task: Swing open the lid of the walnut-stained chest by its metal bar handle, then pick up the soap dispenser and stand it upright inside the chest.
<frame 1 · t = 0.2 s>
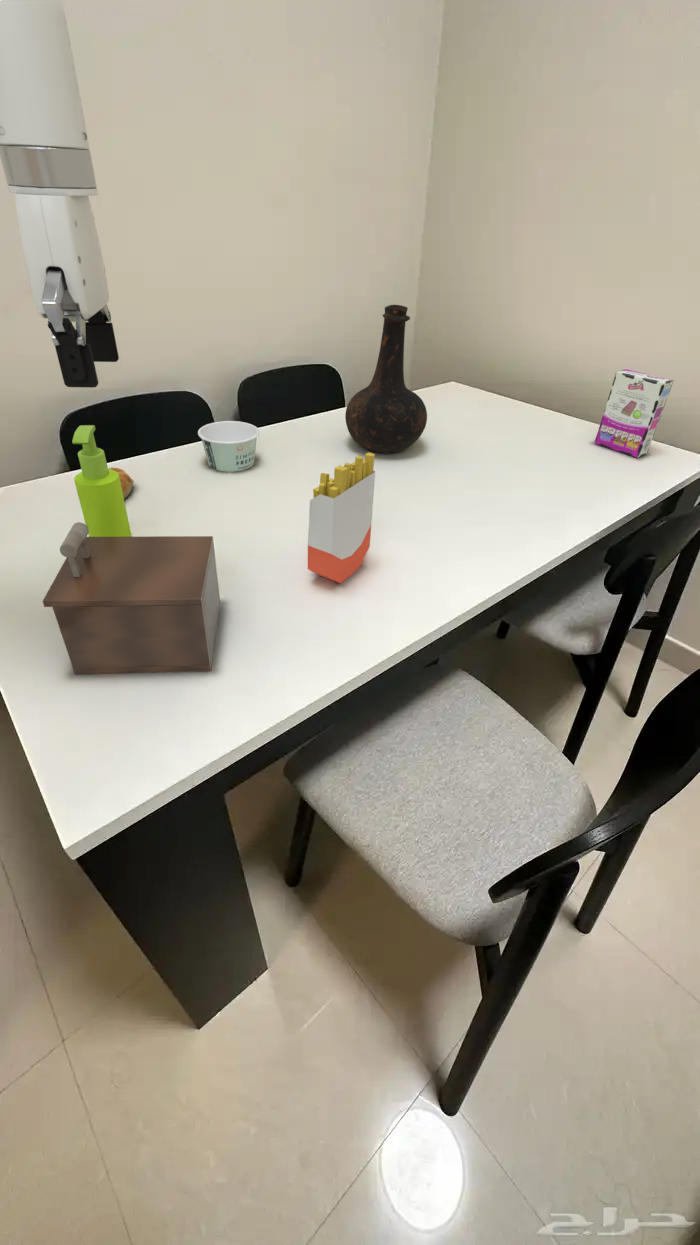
hand: (94, 373, 63), 30 cm above the table, tool pointing down, fingers open, 9 cm apart
food container: (231, 463, 119), on the table
soap dispenser: (115, 559, 89), on the table
pastry: (114, 495, 106), on the table
lid: (132, 552, 67), point 13 cm above the table, hinge at 0.0°
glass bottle: (383, 446, 130), on the table
candy bar box: (619, 449, 136), on the table
french fries container: (338, 571, 89), on the table
chest: (153, 636, 75), on the table
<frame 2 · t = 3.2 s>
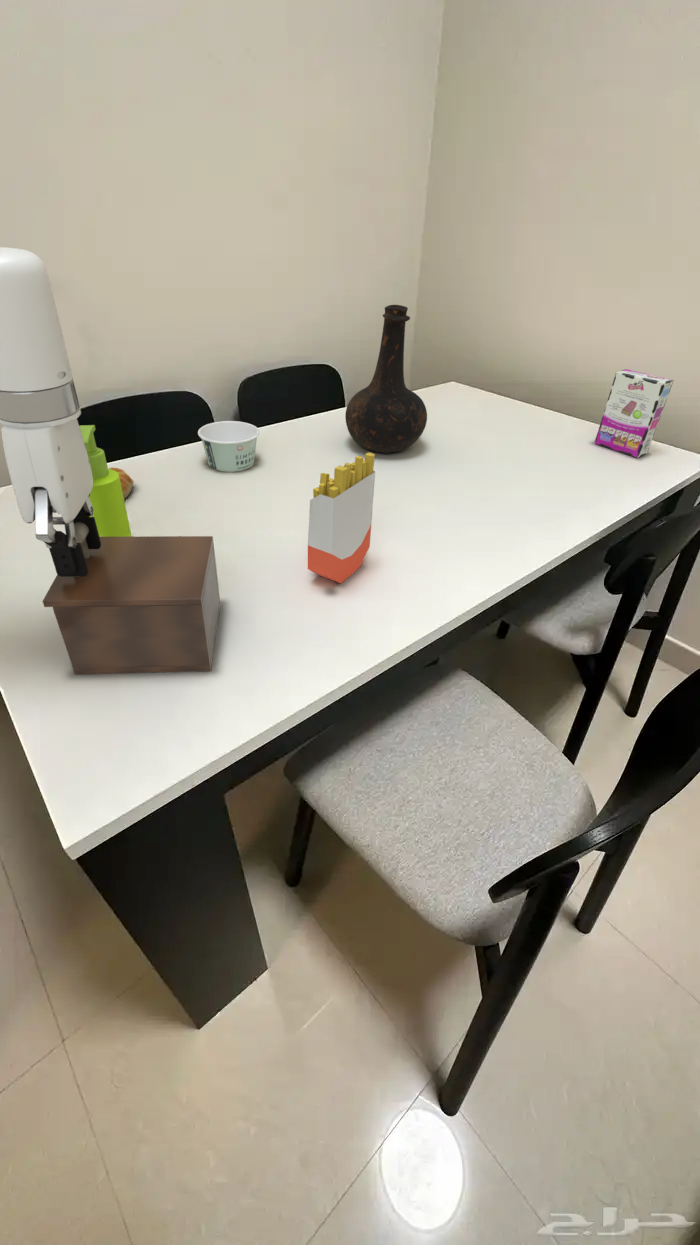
hand: (80, 559, 67), 12 cm above the table, tool pointing down, fingers closed on lid, 5 cm apart
lid: (132, 552, 67), point 13 cm above the table, hinge at 0.0°, touching gripper
everything else where it was.
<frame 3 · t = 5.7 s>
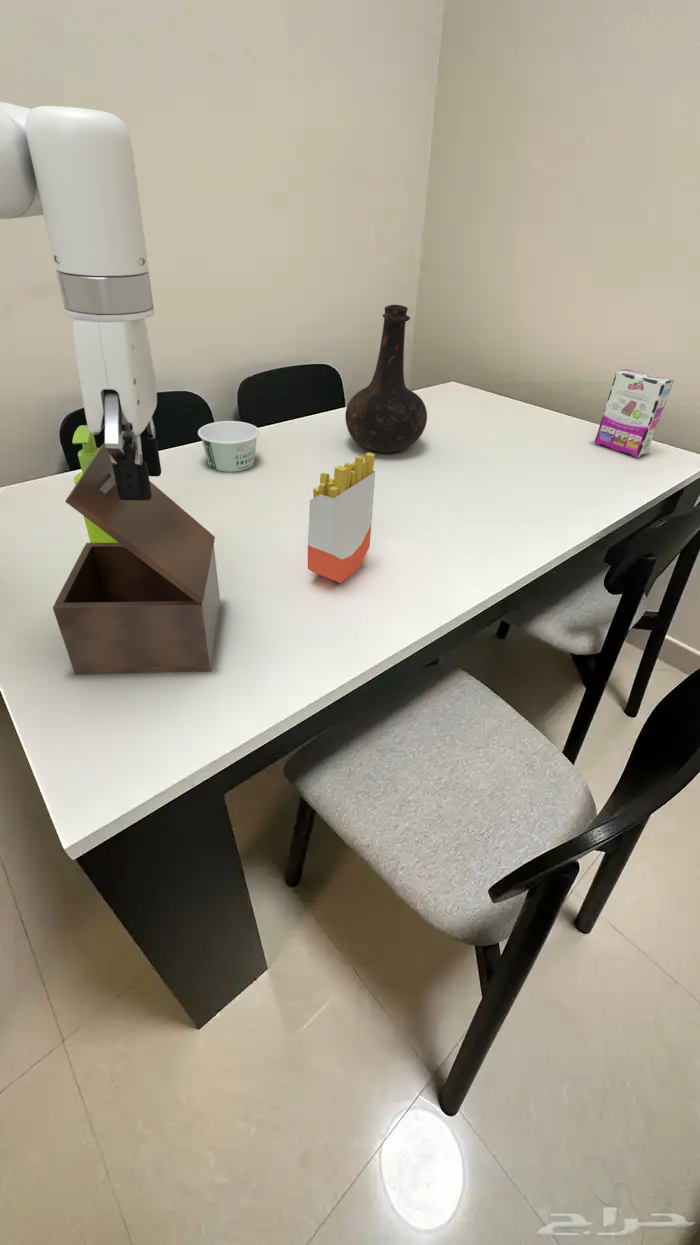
hand: (141, 485, 62), 21 cm above the table, tool pointing down, fingers closed on lid, 5 cm apart
lid: (164, 509, 64), point 18 cm above the table, hinge at 47.9°, touching gripper
everything else where it was.
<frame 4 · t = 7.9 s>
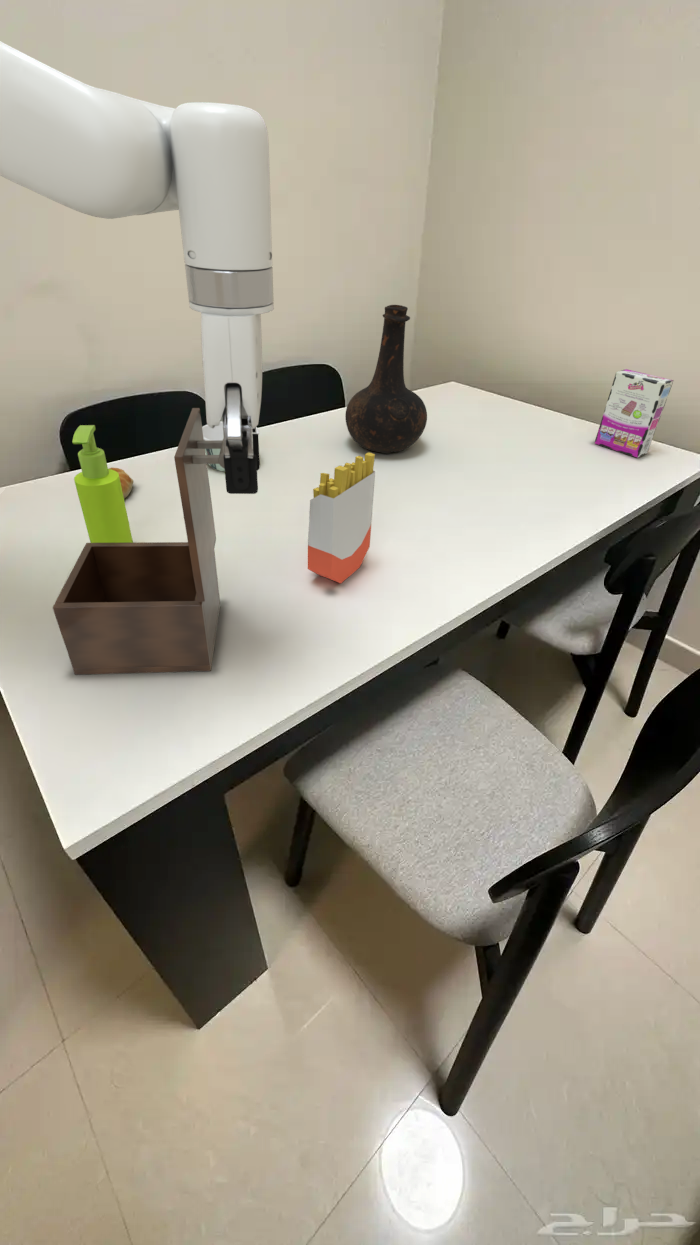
hand: (243, 478, 63), 22 cm above the table, tool pointing down, fingers closed on lid, 5 cm apart
lid: (218, 504, 64), point 19 cm above the table, hinge at 89.1°, touching gripper
everything else where it was.
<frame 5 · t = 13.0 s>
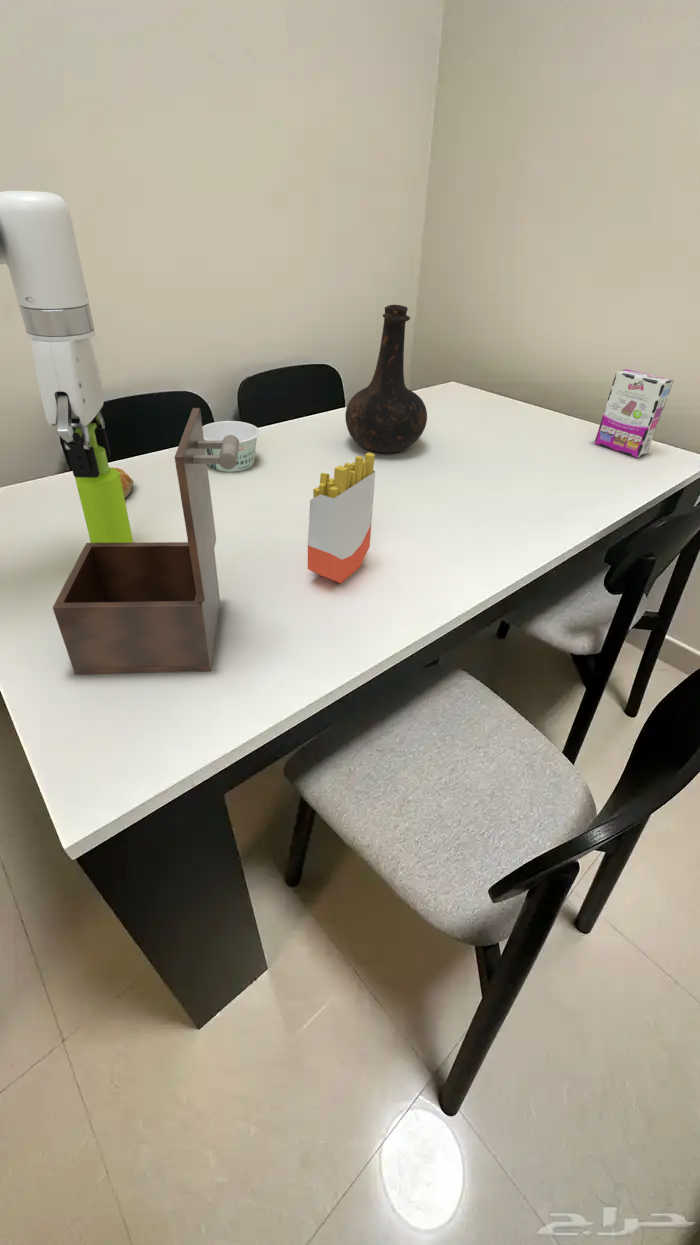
hand: (93, 465, 80), 15 cm above the table, tool pointing down, fingers closed on soap dispenser, 5 cm apart
soap dispenser: (115, 559, 89), on the table, touching gripper
lid: (219, 504, 64), point 19 cm above the table, hinge at 89.2°
everything else where it was.
when the fingers open (16 cm above the table, at t = 21.0 s): soap dispenser stays where it is, resting on chest.
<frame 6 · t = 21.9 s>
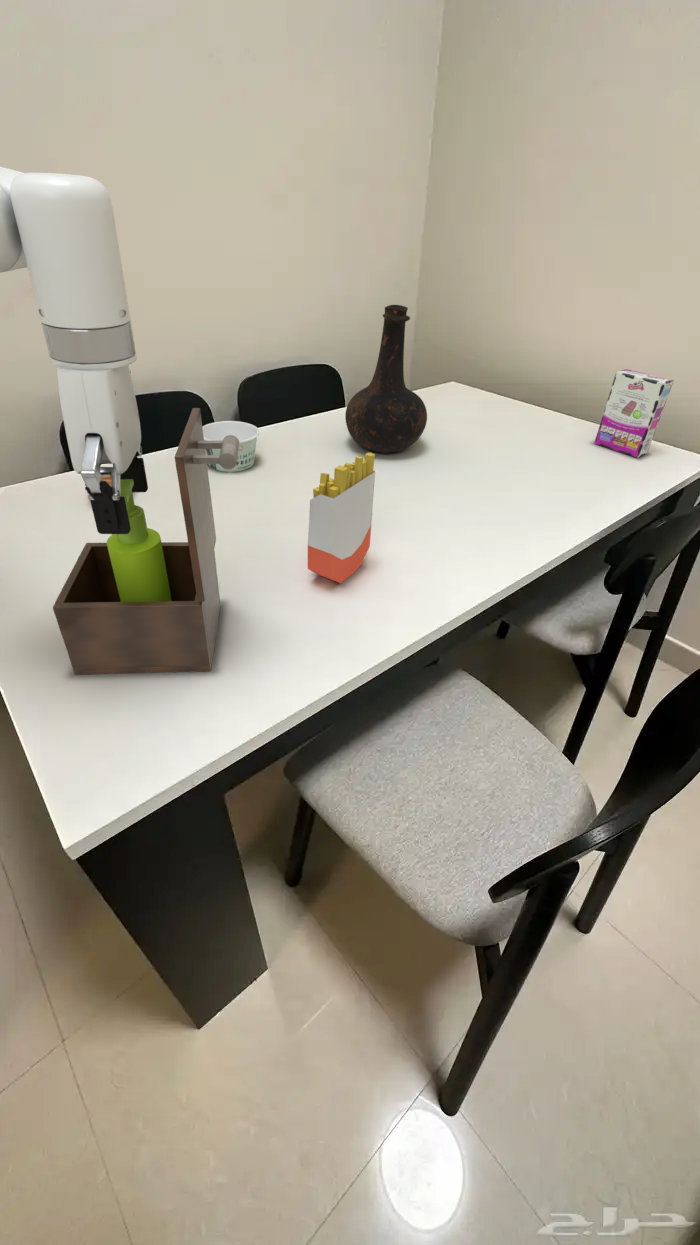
hand: (125, 510, 64), 18 cm above the table, tool pointing down, fingers open, 9 cm apart
soap dispenser: (152, 632, 74), point 1 cm above the table, touching chest
everything else where it was.
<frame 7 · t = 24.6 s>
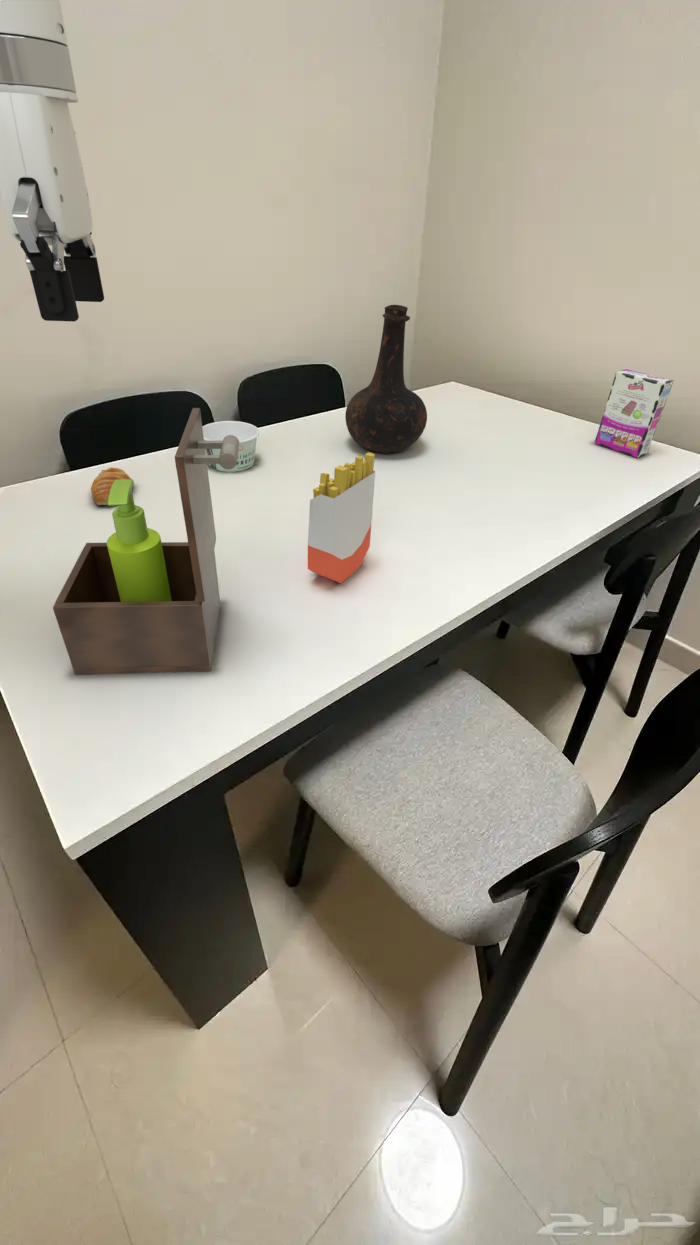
hand: (75, 310, 58), 36 cm above the table, tool pointing down, fingers open, 9 cm apart
nothing on the table moved.
at the end: lid at +89° (first picture: +0°); soap dispenser inside the target area in the chest (0.1 cm from its centre), point 0.7 cm above the chest's base; soap dispenser tilted 0° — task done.
